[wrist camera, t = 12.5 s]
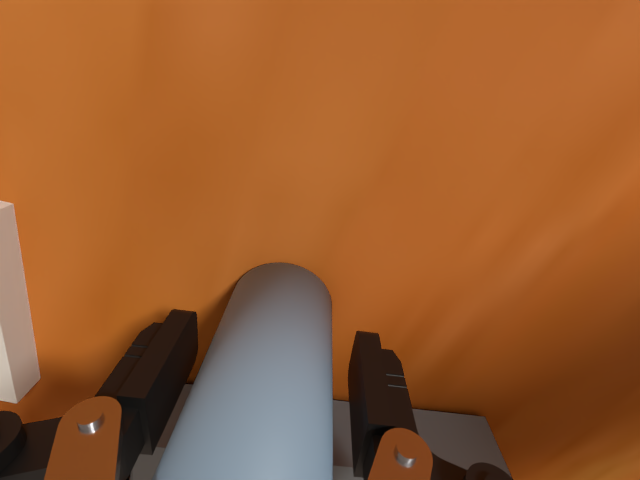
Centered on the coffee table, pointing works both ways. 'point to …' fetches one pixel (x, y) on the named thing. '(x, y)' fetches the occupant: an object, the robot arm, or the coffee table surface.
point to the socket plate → (433, 427)
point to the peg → (261, 386)
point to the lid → (14, 316)
